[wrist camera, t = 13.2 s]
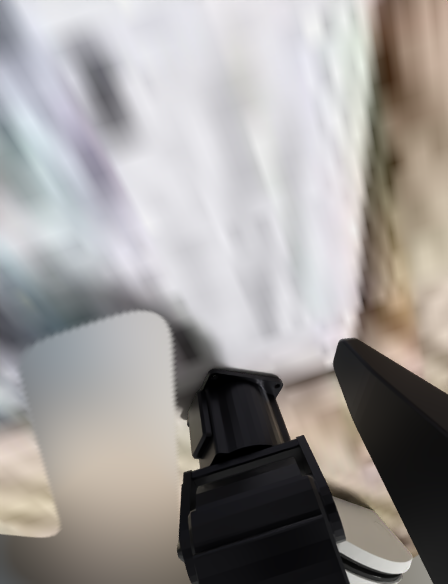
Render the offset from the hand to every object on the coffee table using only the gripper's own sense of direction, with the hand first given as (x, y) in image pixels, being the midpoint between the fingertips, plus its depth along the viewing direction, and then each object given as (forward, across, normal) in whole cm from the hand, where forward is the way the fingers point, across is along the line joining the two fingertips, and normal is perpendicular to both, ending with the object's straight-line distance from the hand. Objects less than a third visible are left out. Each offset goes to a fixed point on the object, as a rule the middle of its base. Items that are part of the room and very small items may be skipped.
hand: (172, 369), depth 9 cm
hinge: (+12, -18, +39) cm, 44 cm away
